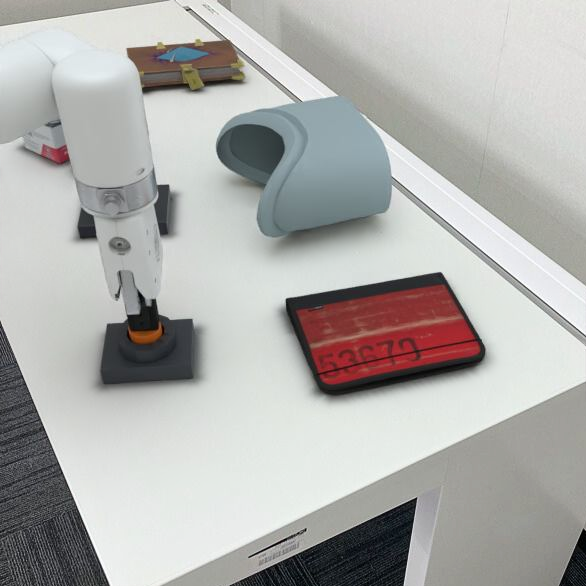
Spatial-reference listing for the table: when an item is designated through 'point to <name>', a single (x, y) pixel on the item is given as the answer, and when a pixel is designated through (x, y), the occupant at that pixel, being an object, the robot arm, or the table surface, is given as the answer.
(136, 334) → the power button
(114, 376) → the switch block
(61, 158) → the ink box
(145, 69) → the book
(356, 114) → the grey-blue curved shell
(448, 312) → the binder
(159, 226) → the dial panel
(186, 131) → the table surface
